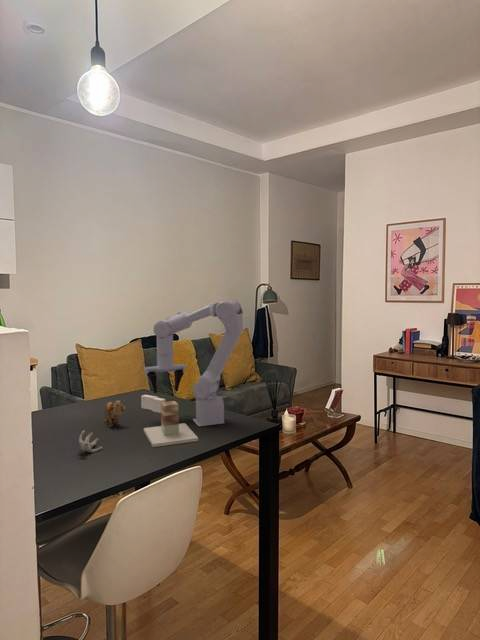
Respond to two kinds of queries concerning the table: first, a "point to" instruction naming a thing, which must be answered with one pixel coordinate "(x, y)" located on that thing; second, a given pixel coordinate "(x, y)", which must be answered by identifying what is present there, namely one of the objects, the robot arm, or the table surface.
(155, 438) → the board
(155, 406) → the beige rectangular block
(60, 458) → the table surface
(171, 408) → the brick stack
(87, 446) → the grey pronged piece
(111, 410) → the lion figurine
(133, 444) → the table surface
